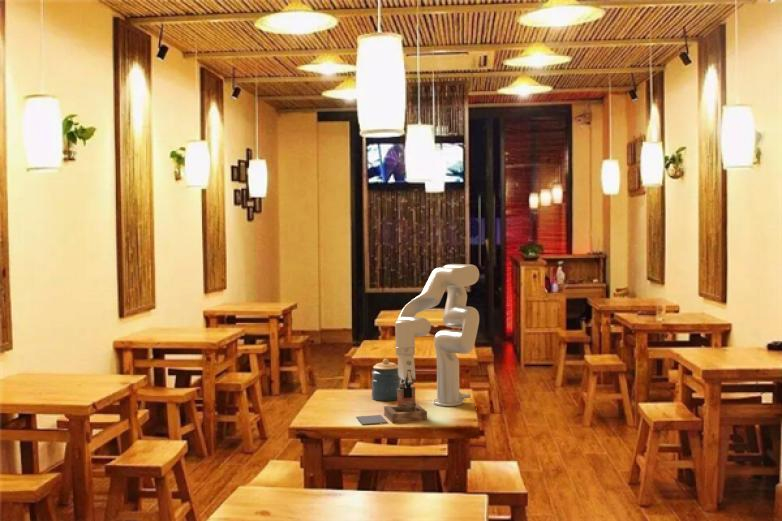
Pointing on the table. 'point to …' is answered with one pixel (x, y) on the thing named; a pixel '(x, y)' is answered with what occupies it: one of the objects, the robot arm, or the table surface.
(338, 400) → the table surface
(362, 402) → the table surface
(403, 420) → the frame
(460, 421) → the table surface
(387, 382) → the canister
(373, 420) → the charcoal mat
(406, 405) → the lighter
